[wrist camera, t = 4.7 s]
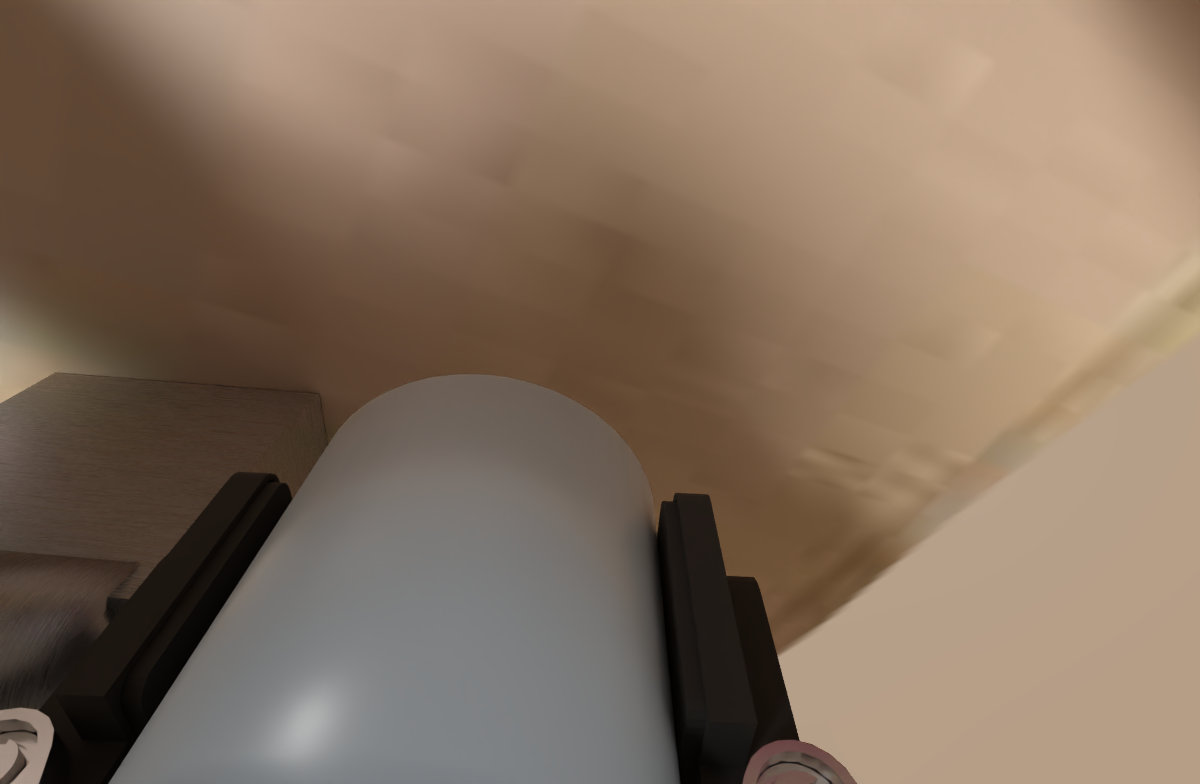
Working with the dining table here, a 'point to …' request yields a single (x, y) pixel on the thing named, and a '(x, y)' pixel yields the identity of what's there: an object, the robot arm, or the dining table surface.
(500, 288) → the dining table surface
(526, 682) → the grey plastic cylinder
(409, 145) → the dining table surface
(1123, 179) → the dining table surface
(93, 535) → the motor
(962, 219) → the dining table surface
